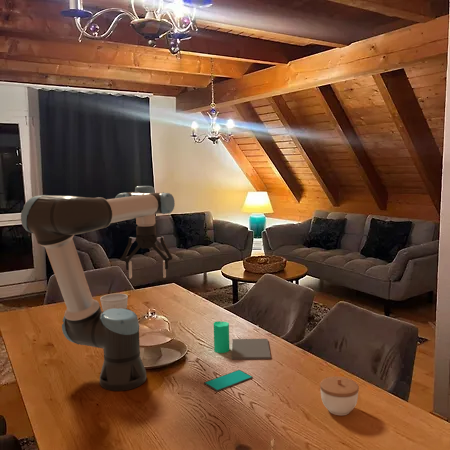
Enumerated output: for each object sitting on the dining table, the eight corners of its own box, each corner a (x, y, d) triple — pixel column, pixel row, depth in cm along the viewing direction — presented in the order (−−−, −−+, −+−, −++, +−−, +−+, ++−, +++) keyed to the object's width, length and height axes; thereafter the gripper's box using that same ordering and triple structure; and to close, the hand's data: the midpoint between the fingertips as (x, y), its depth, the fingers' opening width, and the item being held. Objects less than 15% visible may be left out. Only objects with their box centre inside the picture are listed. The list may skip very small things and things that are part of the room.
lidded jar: (334, 423, 131) (335, 391, 130) (312, 405, 141) (312, 375, 139) (366, 414, 135) (366, 383, 134) (342, 397, 145) (342, 368, 143)
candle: (210, 350, 183) (209, 320, 181) (221, 345, 187) (220, 316, 186) (222, 354, 179) (221, 323, 177) (232, 349, 183) (232, 319, 182)
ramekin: (107, 306, 243) (106, 292, 242) (132, 306, 241) (131, 293, 240) (96, 314, 230) (95, 300, 229) (123, 315, 228) (122, 301, 227)
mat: (270, 359, 174) (270, 356, 174) (232, 359, 174) (232, 357, 174) (267, 340, 192) (267, 338, 192) (232, 340, 192) (232, 339, 192)
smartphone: (203, 382, 156) (239, 369, 165) (203, 385, 156) (239, 371, 165) (216, 390, 150) (253, 377, 159) (217, 393, 150) (253, 379, 159)
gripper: (178, 223, 194) (179, 274, 197) (116, 224, 193) (118, 276, 196) (176, 225, 187) (178, 278, 189) (112, 226, 186) (114, 280, 189)
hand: (147, 277), depth 193 cm, fingers open, 13 cm apart
